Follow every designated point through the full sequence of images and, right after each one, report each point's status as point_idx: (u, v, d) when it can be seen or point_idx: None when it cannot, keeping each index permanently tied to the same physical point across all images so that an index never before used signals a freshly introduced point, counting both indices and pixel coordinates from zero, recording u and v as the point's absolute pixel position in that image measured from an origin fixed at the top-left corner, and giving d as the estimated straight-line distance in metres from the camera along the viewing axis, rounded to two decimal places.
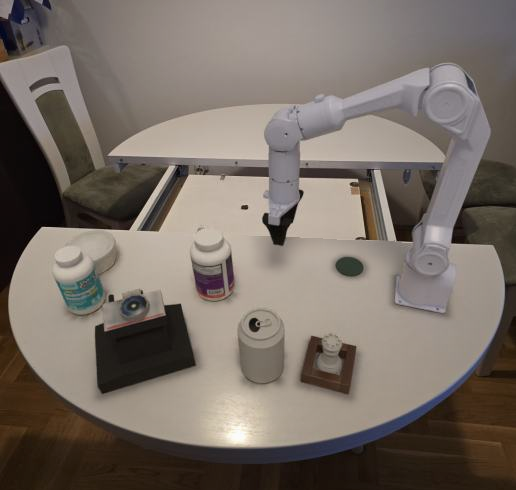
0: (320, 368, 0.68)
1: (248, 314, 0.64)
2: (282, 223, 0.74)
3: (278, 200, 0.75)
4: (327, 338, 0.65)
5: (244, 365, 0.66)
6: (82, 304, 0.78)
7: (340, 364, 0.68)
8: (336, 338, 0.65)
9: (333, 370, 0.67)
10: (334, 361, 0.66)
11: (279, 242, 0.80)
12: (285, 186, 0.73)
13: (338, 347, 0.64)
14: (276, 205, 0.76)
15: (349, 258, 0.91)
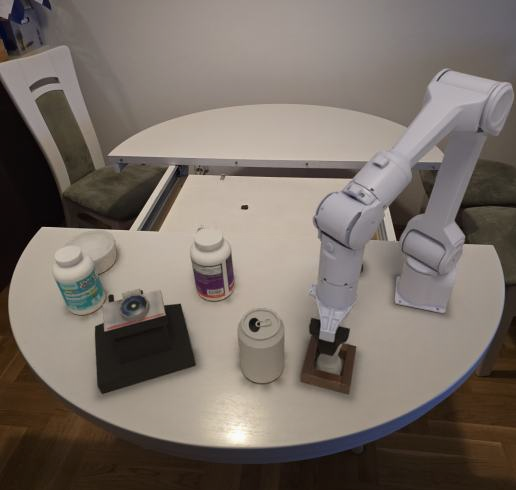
0: (320, 368, 0.68)
1: (248, 314, 0.64)
2: (337, 336, 0.56)
3: (330, 304, 0.57)
4: None
5: (244, 365, 0.66)
6: (82, 304, 0.78)
7: (340, 364, 0.68)
8: None
9: (333, 370, 0.67)
10: (334, 361, 0.66)
11: (328, 352, 0.61)
12: (342, 289, 0.54)
13: (338, 347, 0.64)
14: (328, 310, 0.57)
15: None
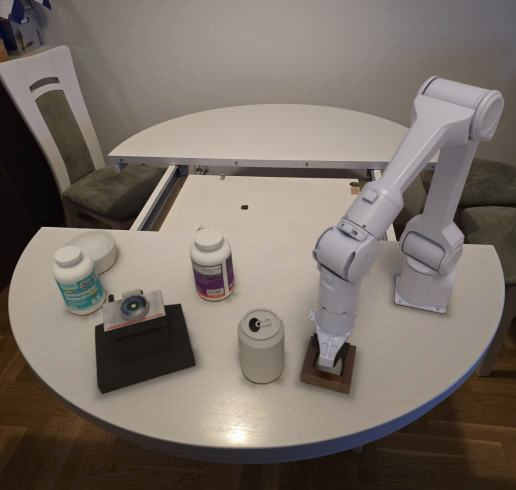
0: (320, 368, 0.68)
1: (248, 314, 0.64)
2: (338, 351, 0.60)
3: (329, 330, 0.59)
4: None
5: (244, 365, 0.66)
6: (82, 304, 0.78)
7: (340, 364, 0.68)
8: None
9: (333, 371, 0.67)
10: None
11: None
12: (341, 317, 0.57)
13: None
14: (327, 336, 0.60)
15: None
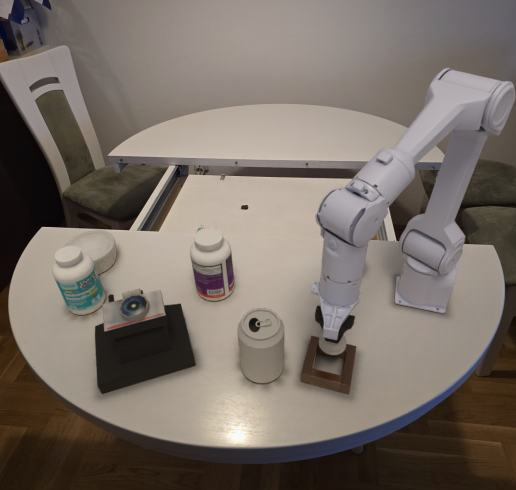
0: (323, 345, 0.65)
1: (248, 314, 0.64)
2: (342, 323, 0.57)
3: (333, 302, 0.56)
4: None
5: (244, 365, 0.66)
6: (82, 304, 0.78)
7: (344, 340, 0.65)
8: None
9: (337, 347, 0.64)
10: None
11: (333, 339, 0.62)
12: (345, 287, 0.54)
13: None
14: (331, 308, 0.57)
15: None
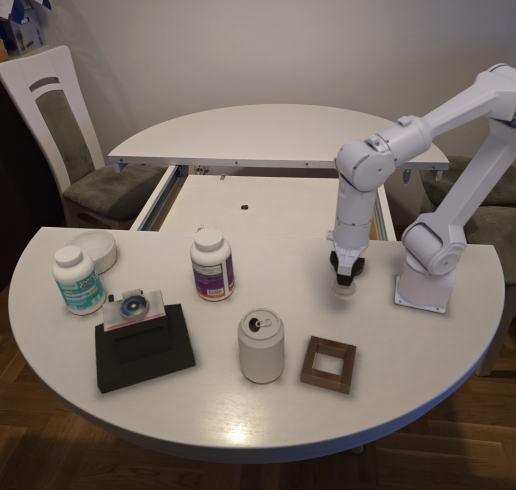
0: (336, 289, 0.73)
1: (248, 314, 0.64)
2: (354, 264, 0.65)
3: (346, 244, 0.64)
4: None
5: (244, 365, 0.66)
6: (82, 304, 0.78)
7: (354, 285, 0.73)
8: None
9: (348, 291, 0.72)
10: None
11: (346, 282, 0.70)
12: (357, 229, 0.62)
13: None
14: (344, 250, 0.65)
15: None
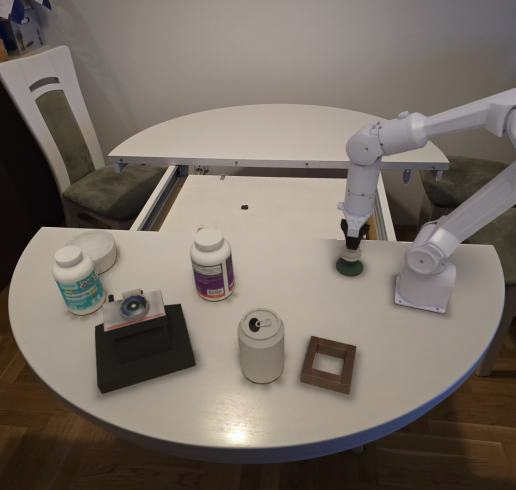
0: (344, 253, 0.85)
1: (248, 314, 0.64)
2: (361, 229, 0.78)
3: (355, 212, 0.77)
4: None
5: (244, 365, 0.66)
6: (82, 304, 0.78)
7: (360, 250, 0.86)
8: None
9: (355, 254, 0.85)
10: None
11: (353, 247, 0.83)
12: (364, 199, 0.75)
13: None
14: (353, 217, 0.77)
15: None
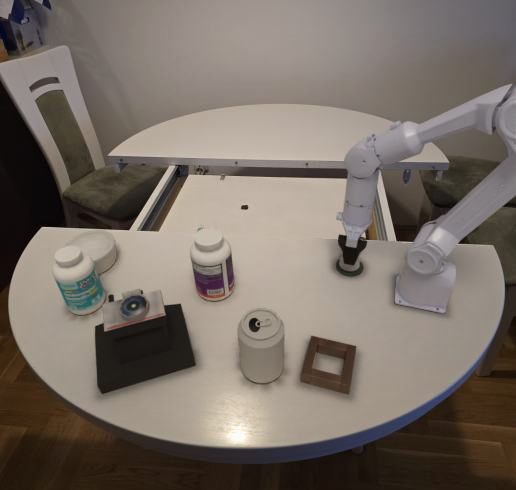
0: (343, 263, 0.87)
1: (248, 314, 0.64)
2: (358, 245, 0.78)
3: (353, 223, 0.79)
4: None
5: (244, 365, 0.66)
6: (82, 304, 0.78)
7: (359, 260, 0.87)
8: None
9: None
10: None
11: (350, 262, 0.83)
12: (362, 210, 0.76)
13: None
14: (351, 227, 0.79)
15: None
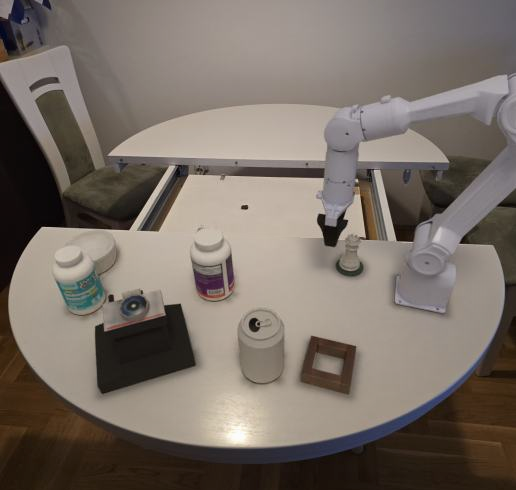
0: (343, 263, 0.87)
1: (248, 314, 0.64)
2: (338, 224, 0.73)
3: (333, 201, 0.74)
4: (349, 237, 0.85)
5: (244, 365, 0.66)
6: (82, 304, 0.78)
7: (359, 260, 0.87)
8: (356, 237, 0.85)
9: (353, 264, 0.86)
10: (354, 257, 0.86)
11: (331, 243, 0.78)
12: (342, 186, 0.72)
13: (358, 243, 0.84)
14: (331, 206, 0.74)
15: None
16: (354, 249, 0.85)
